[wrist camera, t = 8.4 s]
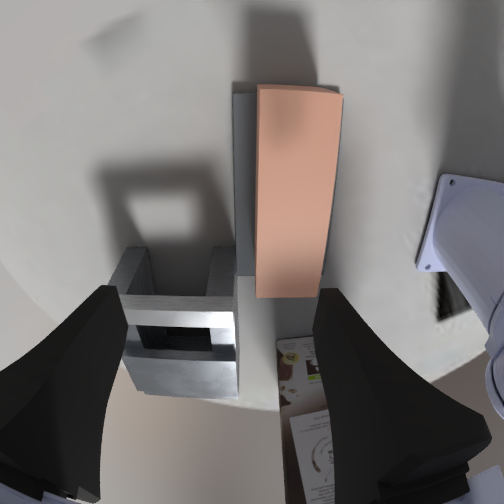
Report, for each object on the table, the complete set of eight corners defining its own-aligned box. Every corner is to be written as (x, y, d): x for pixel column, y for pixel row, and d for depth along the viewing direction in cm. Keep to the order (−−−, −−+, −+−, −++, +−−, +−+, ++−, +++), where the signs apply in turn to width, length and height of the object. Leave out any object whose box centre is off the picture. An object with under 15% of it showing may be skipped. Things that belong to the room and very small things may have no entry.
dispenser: (235, 246, 21) (232, 311, 16) (239, 351, 27) (238, 411, 22) (127, 247, 21) (96, 307, 16) (155, 349, 27) (142, 405, 22)
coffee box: (273, 339, 27) (285, 528, 13) (346, 330, 26) (390, 510, 13) (279, 392, 32) (288, 536, 18) (338, 385, 31) (363, 525, 18)
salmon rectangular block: (322, 87, 15) (342, 94, 12) (306, 257, 21) (317, 297, 18) (257, 83, 15) (260, 89, 12) (254, 257, 21) (255, 297, 18)
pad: (340, 97, 16) (343, 98, 15) (321, 270, 23) (323, 275, 22) (233, 93, 16) (233, 93, 15) (237, 270, 22) (236, 276, 22)
